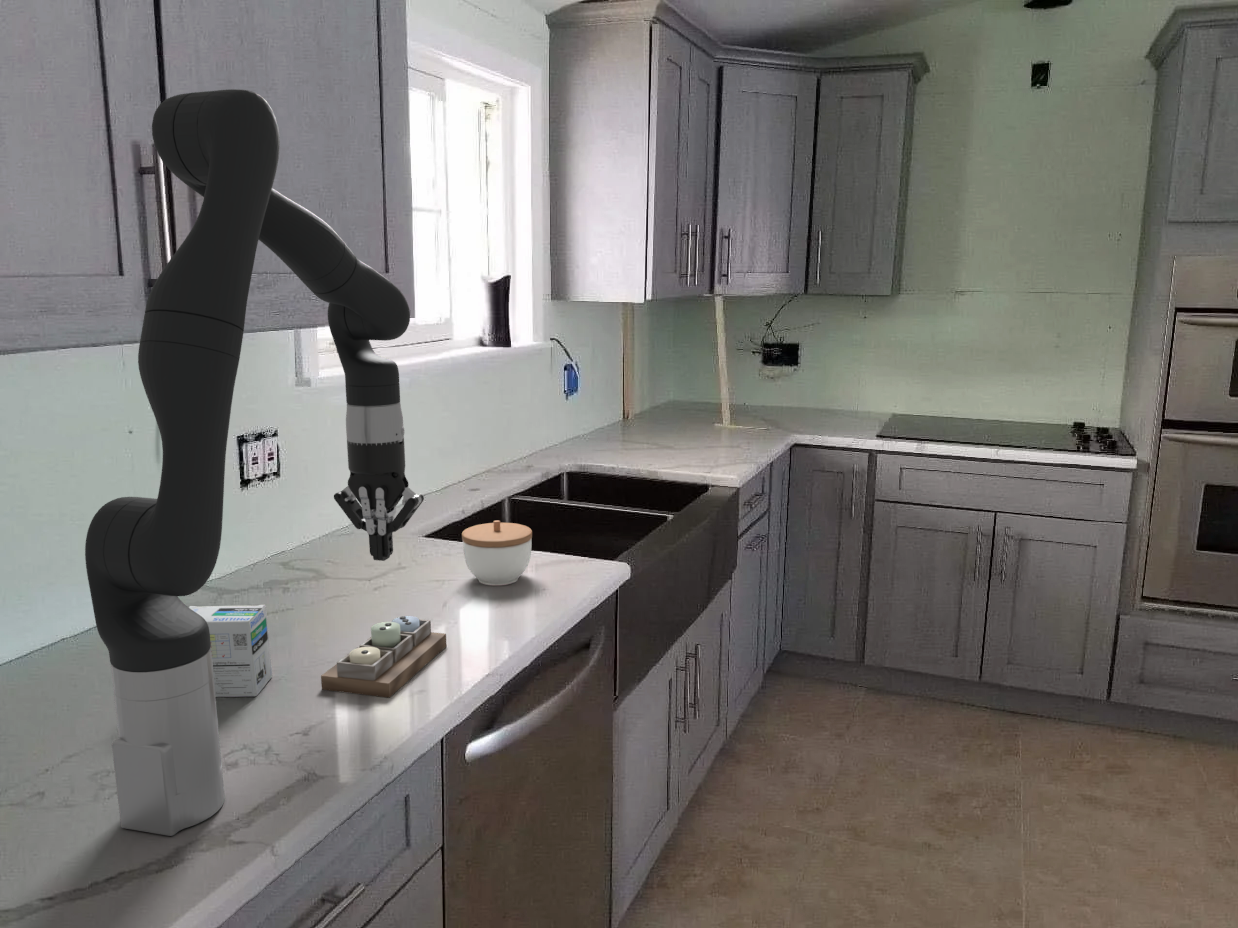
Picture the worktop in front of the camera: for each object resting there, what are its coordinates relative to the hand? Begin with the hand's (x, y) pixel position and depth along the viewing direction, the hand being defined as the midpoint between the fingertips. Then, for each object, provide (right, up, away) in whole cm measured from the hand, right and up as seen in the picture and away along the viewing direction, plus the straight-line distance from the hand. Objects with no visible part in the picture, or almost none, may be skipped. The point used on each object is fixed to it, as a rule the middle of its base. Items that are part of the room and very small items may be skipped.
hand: (382, 558), depth 132 cm
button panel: (0, -16, +3) cm, 16 cm away
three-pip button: (+1, -12, +8) cm, 15 cm away
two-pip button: (0, -12, +2) cm, 12 cm away
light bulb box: (-20, -17, -3) cm, 27 cm away
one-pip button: (-2, -15, -3) cm, 15 cm away
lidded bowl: (+11, -8, +41) cm, 44 cm away
